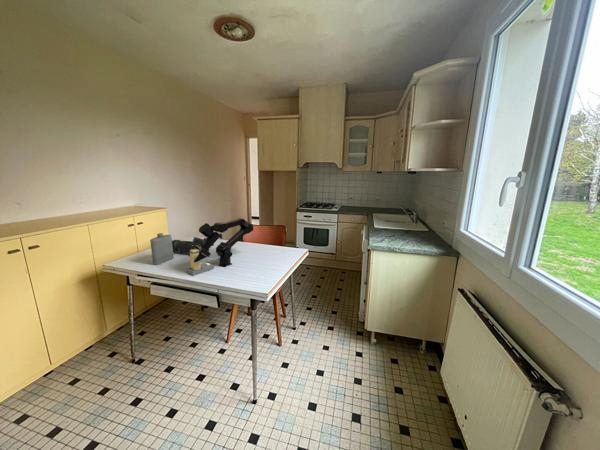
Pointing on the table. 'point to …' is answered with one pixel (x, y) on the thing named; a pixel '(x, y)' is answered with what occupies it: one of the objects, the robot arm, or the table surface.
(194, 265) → the plug
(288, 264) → the table surface
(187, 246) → the muzzle brake
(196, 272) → the bar
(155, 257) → the flask
